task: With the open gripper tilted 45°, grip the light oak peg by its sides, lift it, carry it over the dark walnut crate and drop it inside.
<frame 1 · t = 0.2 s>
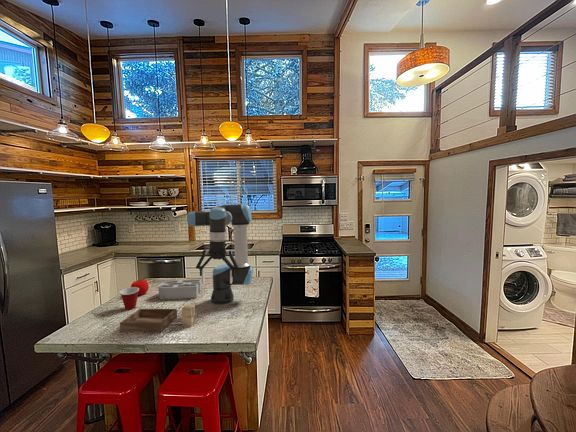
hand: (217, 282, 134), 27 cm above the kitchen island, tool pointing down, fingers open, 13 cm apart
oak peg: (189, 324, 149), on the kitchen island
tomato: (140, 294, 198), on the kitchen island
plastic cup: (130, 308, 172), on the kitchen island
walnut crate: (150, 324, 150), on the kitchen island
ice cube tray: (179, 295, 195), on the kitchen island
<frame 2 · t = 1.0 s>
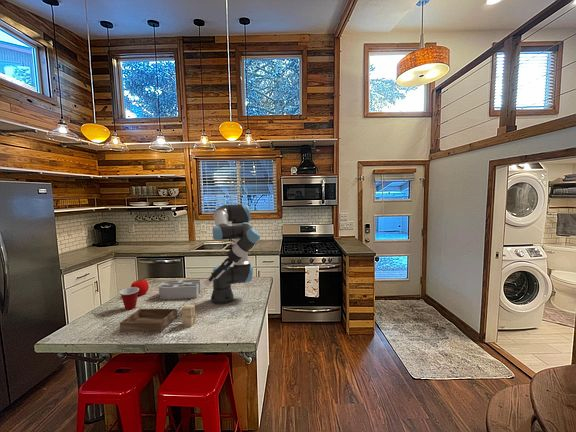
hand: (210, 280, 146), 25 cm above the kitchen island, tool tilted 45°, fingers open, 13 cm apart
nothing on the kitchen island moved.
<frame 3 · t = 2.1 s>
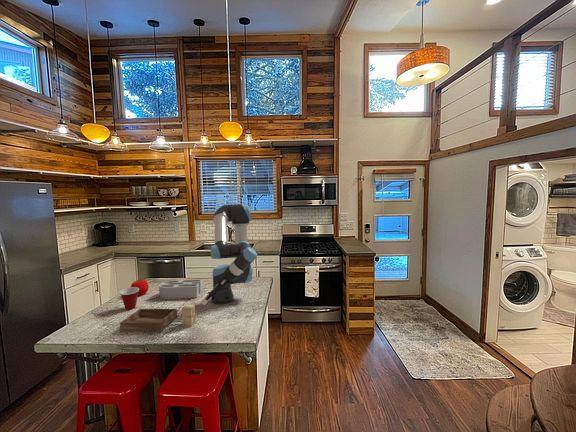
hand: (207, 298, 147), 15 cm above the kitchen island, tool tilted 45°, fingers open, 13 cm apart
nothing on the kitchen island moved.
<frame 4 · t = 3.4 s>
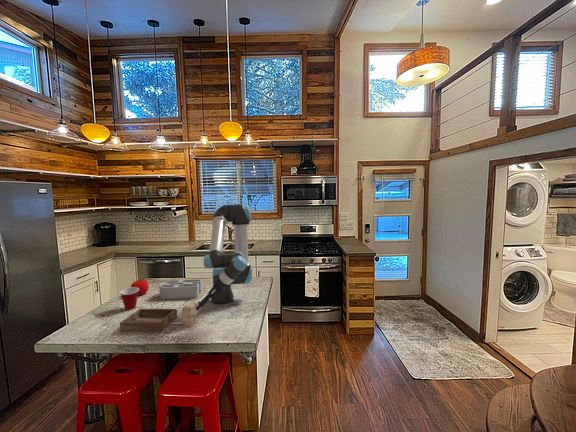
hand: (197, 308, 146), 10 cm above the kitchen island, tool tilted 45°, fingers open, 13 cm apart
nothing on the kitchen island moved.
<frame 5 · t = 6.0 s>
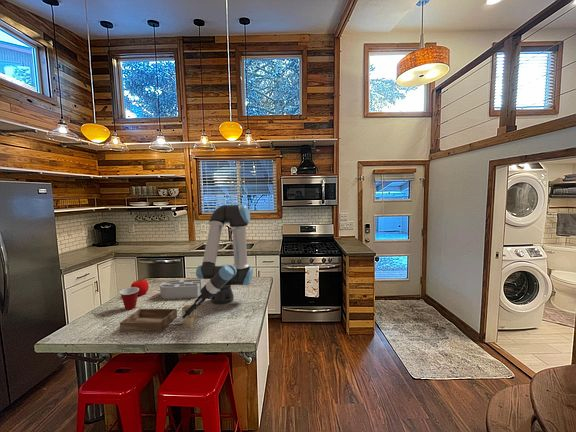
hand: (182, 318, 149), 3 cm above the kitchen island, tool tilted 45°, fingers closed on oak peg, 5 cm apart
oak peg: (189, 324, 149), on the kitchen island, touching gripper
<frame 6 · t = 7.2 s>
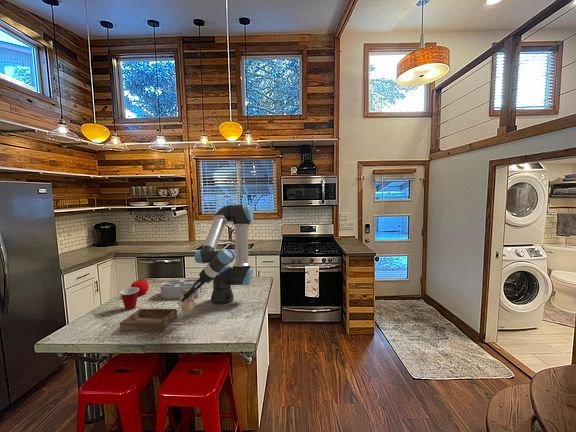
hand: (181, 302, 148), 13 cm above the kitchen island, tool tilted 45°, fingers closed on oak peg, 5 cm apart
oak peg: (188, 308, 148), point 9 cm above the kitchen island, touching gripper
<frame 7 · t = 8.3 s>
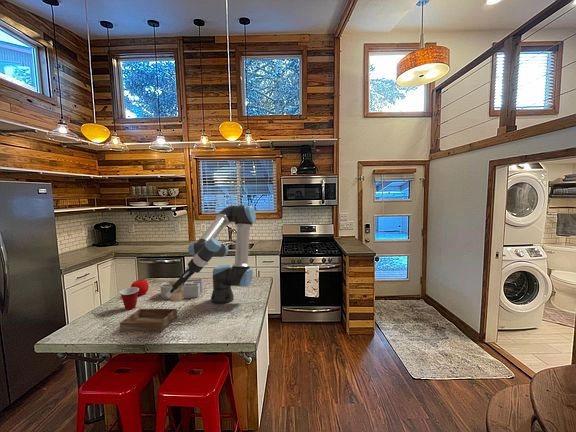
hand: (170, 294, 146), 18 cm above the kitchen island, tool tilted 45°, fingers closed on oak peg, 5 cm apart
oak peg: (177, 300, 146), point 15 cm above the kitchen island, touching gripper
when the fingers open (11 cm above the kitchen island, at t = 11.2 s): oak peg drops 7 cm, resting on walnut crate.
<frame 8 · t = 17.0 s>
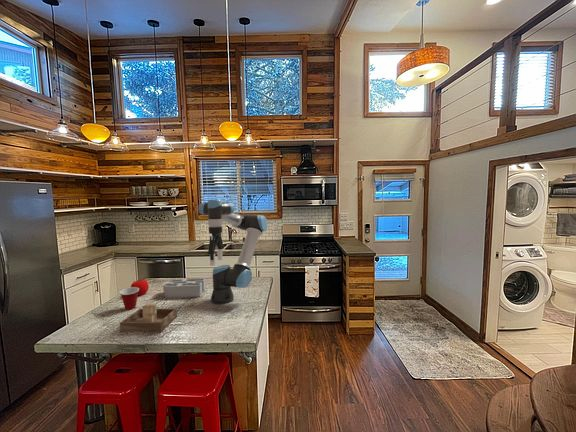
hand: (216, 262, 157), 32 cm above the kitchen island, tool pointing down, fingers open, 13 cm apart
oak peg: (150, 322, 150), point 1 cm above the kitchen island, touching walnut crate
ice cube tray: (183, 294, 198), on the kitchen island
everything else where it was.
at the end: oak peg inside the target area on the walnut crate (0.1 cm from its centre), point 1.0 cm above the walnut crate's base; the gripper is holding nothing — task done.
